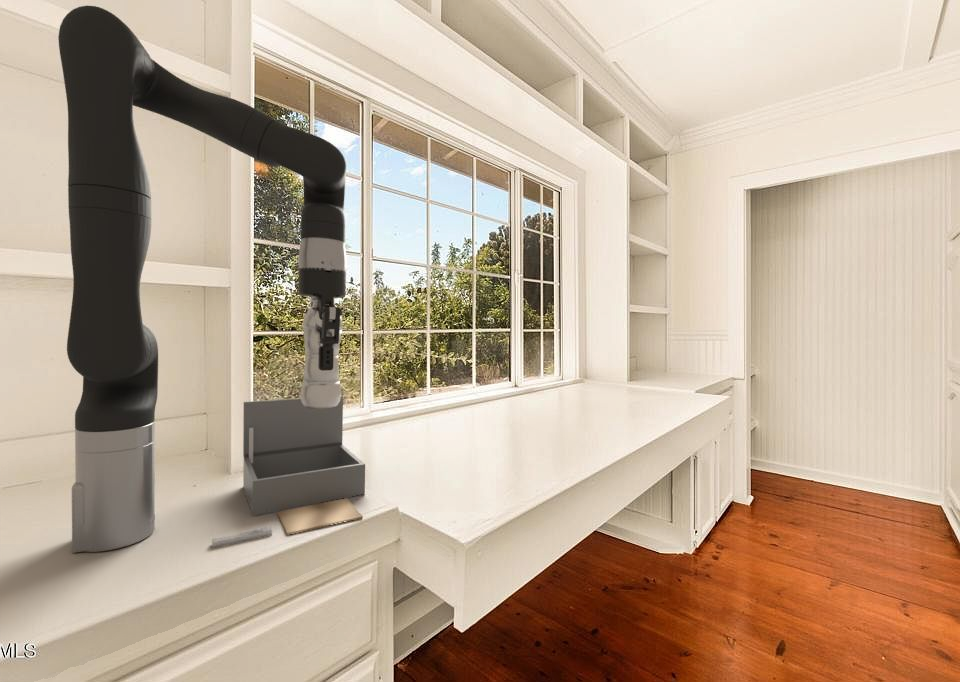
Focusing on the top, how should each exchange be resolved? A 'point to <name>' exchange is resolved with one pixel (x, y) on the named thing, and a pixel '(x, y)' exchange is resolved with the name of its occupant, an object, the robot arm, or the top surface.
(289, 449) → the case
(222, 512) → the top surface
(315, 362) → the plastic bottle
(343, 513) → the cork pad
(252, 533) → the rod
